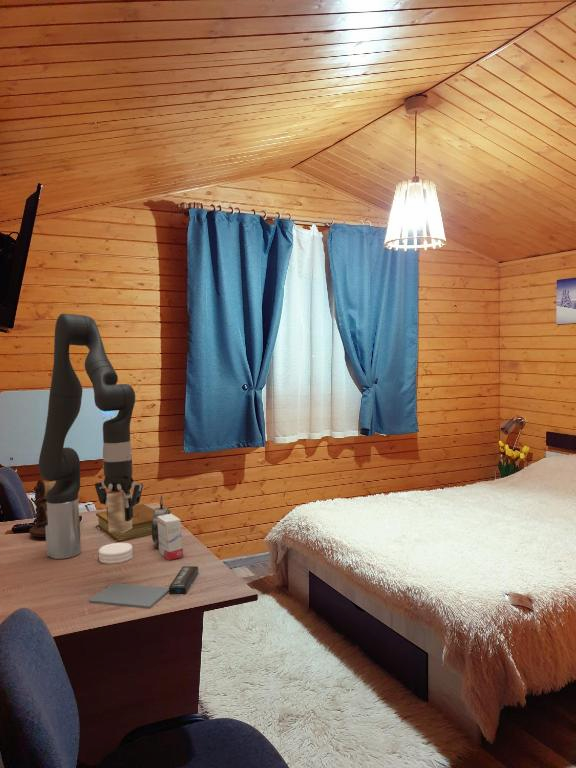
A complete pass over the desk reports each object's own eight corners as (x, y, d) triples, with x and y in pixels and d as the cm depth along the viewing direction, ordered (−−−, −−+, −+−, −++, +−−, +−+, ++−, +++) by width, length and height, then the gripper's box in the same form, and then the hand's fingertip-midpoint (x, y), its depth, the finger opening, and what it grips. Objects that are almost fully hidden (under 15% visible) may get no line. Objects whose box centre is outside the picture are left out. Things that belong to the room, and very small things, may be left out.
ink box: (183, 557, 175) (182, 519, 174) (167, 561, 172) (165, 522, 171) (173, 549, 182) (172, 512, 181) (158, 553, 179) (156, 515, 179)
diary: (170, 532, 202) (170, 516, 201) (118, 544, 191) (117, 527, 191) (145, 517, 220) (145, 502, 220) (96, 527, 210) (95, 512, 209)
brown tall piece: (62, 525, 213) (59, 471, 212) (83, 532, 203) (80, 476, 202) (22, 535, 202) (18, 479, 201) (42, 544, 192) (38, 484, 191)
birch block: (108, 532, 156) (106, 491, 156) (118, 526, 161) (116, 487, 160) (123, 533, 155) (121, 492, 154) (132, 527, 159) (130, 488, 159)
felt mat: (89, 602, 145) (89, 600, 145) (113, 584, 156) (113, 583, 156) (149, 608, 140) (149, 606, 140) (170, 589, 151) (170, 588, 151)
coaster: (94, 565, 172) (93, 553, 171) (105, 553, 182) (105, 542, 181) (127, 564, 171) (126, 552, 171) (137, 552, 181) (136, 541, 181)
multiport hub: (198, 574, 162) (198, 566, 162) (185, 596, 148) (185, 587, 148) (183, 574, 163) (182, 566, 162) (168, 596, 148) (168, 587, 148)
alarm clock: (158, 539, 193) (155, 491, 192) (174, 538, 193) (172, 490, 192) (151, 550, 182) (149, 500, 181) (168, 550, 182) (166, 499, 181)
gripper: (86, 459, 155) (89, 522, 156) (133, 461, 151) (136, 525, 152) (102, 454, 162) (105, 514, 163) (148, 456, 158) (150, 517, 159)
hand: (120, 519), depth 158 cm, fingers closed on birch block, 4 cm apart
